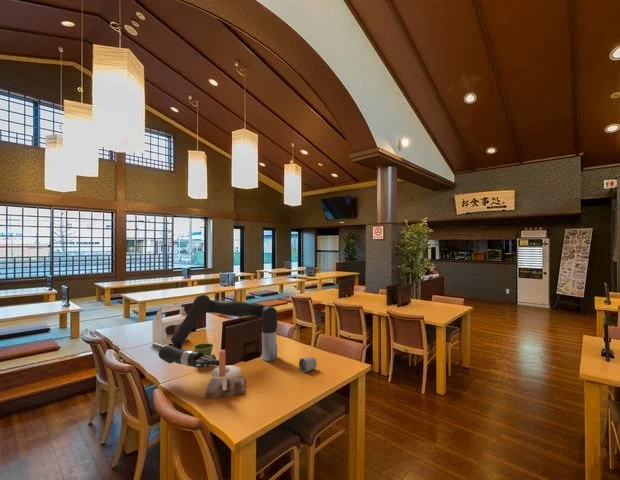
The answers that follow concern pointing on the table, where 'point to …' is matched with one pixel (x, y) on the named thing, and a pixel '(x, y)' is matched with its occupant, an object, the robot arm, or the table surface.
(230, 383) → the post base
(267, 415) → the table surface
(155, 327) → the gable box
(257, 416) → the table surface
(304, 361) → the ceramic mug
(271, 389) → the table surface
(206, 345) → the plant pot
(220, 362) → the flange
